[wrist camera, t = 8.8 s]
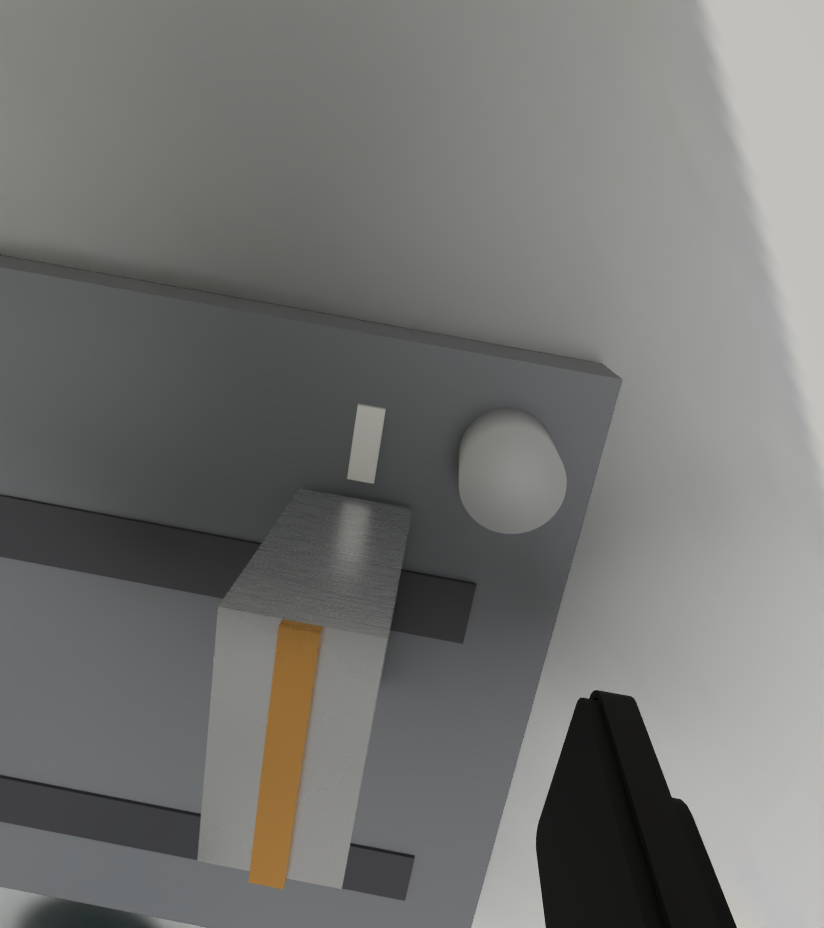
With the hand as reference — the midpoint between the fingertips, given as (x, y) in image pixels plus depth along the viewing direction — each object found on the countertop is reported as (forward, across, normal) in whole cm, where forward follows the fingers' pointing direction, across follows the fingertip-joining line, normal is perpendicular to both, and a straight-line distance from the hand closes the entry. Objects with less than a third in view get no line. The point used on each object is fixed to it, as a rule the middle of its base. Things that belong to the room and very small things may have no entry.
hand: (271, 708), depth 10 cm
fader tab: (+5, 0, +1) cm, 5 cm away
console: (+7, +5, +4) cm, 10 cm away
